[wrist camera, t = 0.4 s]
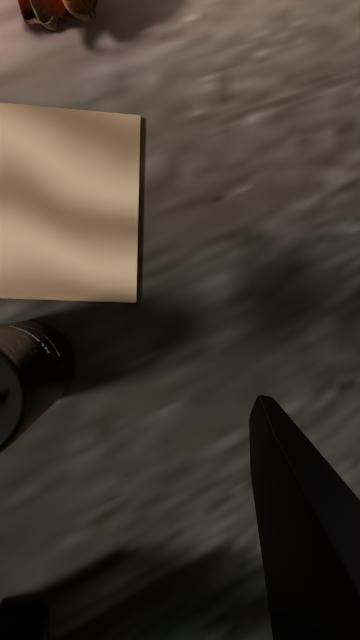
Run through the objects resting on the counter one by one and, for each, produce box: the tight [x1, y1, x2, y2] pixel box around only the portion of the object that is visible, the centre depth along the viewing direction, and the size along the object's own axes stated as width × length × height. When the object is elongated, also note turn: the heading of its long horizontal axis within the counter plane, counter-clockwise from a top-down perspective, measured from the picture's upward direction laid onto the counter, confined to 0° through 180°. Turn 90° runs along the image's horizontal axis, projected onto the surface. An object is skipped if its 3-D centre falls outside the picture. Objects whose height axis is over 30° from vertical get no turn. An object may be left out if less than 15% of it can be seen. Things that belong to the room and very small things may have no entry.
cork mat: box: [0, 103, 141, 303], centre depth 21 cm, size 14×16×1 cm
